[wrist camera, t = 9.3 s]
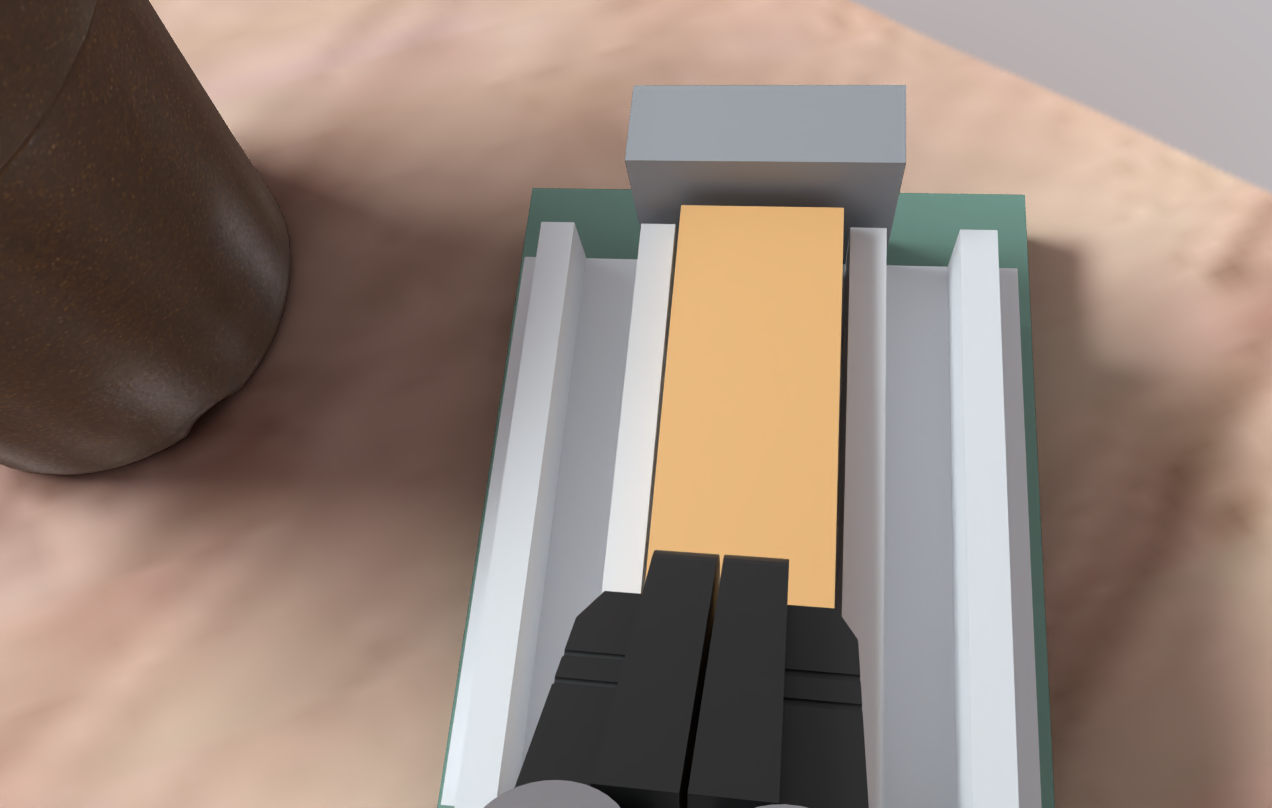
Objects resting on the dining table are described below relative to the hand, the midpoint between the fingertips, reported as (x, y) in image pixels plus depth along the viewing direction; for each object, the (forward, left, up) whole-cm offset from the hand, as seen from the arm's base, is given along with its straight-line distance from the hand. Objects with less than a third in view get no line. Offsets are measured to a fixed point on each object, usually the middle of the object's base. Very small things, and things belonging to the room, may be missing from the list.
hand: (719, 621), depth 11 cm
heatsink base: (0, -3, -15) cm, 16 cm away
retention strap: (0, -3, -9) cm, 9 cm away
